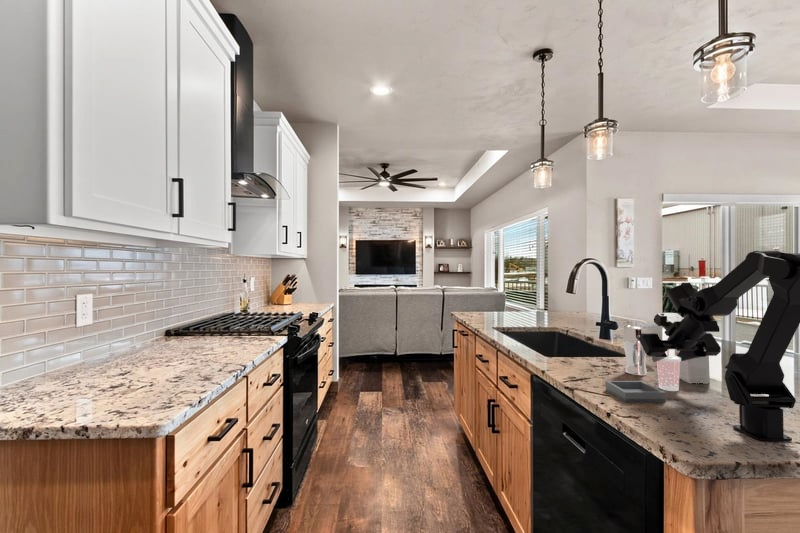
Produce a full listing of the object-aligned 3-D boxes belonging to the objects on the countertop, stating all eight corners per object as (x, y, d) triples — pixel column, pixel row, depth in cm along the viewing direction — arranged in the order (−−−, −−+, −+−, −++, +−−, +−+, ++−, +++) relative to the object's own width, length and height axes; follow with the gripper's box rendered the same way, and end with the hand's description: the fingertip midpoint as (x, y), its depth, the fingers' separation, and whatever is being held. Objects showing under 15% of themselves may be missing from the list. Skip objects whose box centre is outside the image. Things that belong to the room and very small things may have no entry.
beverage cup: (673, 385, 111) (672, 337, 111) (687, 392, 105) (686, 341, 105) (651, 385, 111) (650, 337, 111) (663, 391, 105) (662, 341, 105)
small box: (710, 384, 111) (709, 348, 111) (688, 383, 112) (687, 348, 112) (694, 377, 119) (694, 343, 119) (674, 376, 120) (674, 342, 120)
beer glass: (618, 372, 126) (617, 326, 126) (632, 369, 129) (631, 324, 129) (639, 377, 119) (638, 329, 119) (653, 374, 122) (652, 327, 122)
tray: (665, 402, 97) (665, 392, 97) (625, 402, 98) (625, 392, 98) (642, 389, 107) (641, 380, 107) (605, 389, 108) (605, 381, 108)
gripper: (711, 303, 104) (683, 336, 115) (641, 304, 105) (620, 337, 115) (736, 337, 96) (704, 370, 107) (660, 338, 97) (636, 370, 108)
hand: (665, 360), depth 109 cm, fingers closed on beverage cup, 6 cm apart
